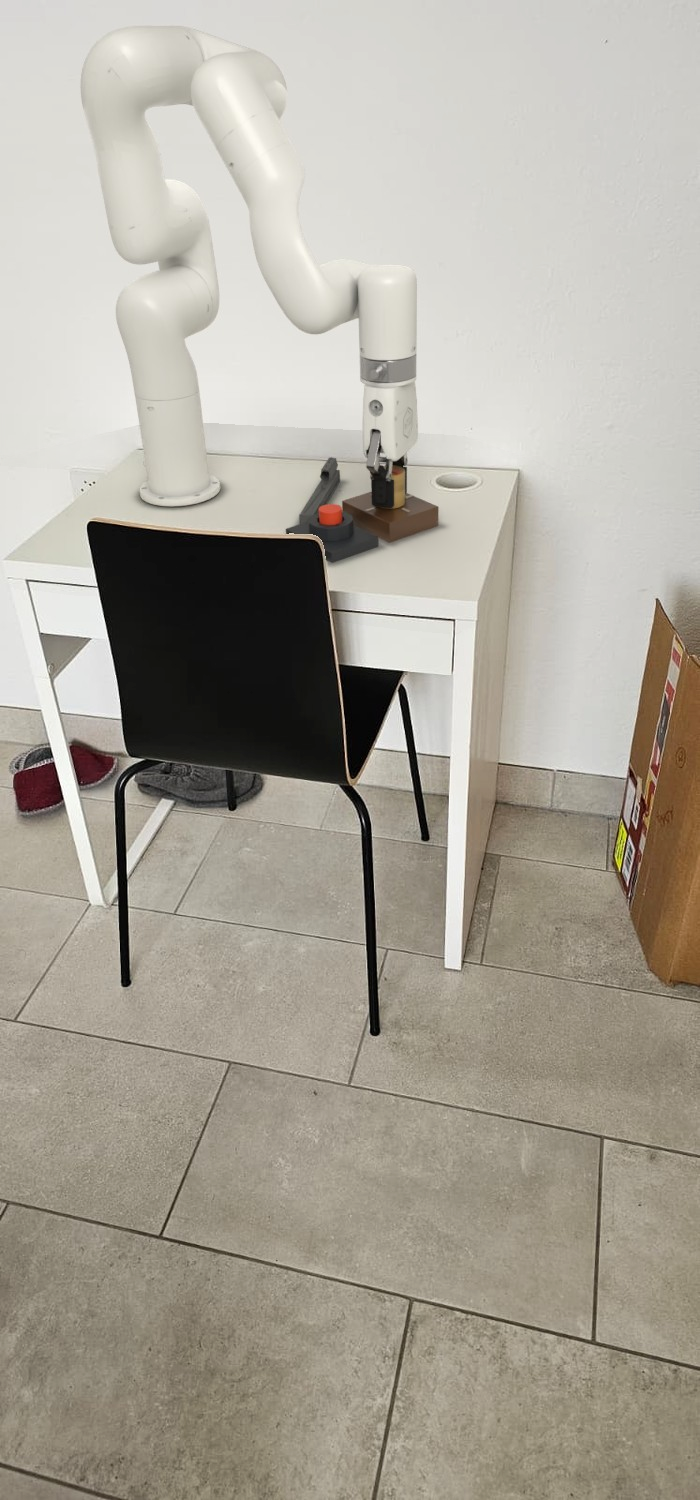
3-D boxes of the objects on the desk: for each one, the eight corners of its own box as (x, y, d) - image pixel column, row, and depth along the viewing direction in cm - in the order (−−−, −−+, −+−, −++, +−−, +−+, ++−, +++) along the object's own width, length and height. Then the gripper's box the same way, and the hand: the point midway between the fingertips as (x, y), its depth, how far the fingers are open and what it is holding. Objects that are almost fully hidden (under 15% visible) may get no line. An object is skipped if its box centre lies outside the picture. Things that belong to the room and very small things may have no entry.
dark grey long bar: (317, 530, 147) (315, 502, 144) (299, 529, 147) (297, 501, 145) (344, 482, 161) (342, 456, 159) (327, 482, 162) (326, 456, 159)
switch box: (286, 538, 144) (284, 515, 142) (331, 523, 148) (330, 500, 146) (332, 563, 137) (330, 539, 135) (378, 547, 141) (378, 523, 139)
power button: (314, 521, 141) (314, 508, 140) (333, 515, 142) (332, 502, 141) (328, 528, 139) (327, 514, 138) (347, 522, 140) (346, 508, 139)
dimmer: (342, 520, 149) (341, 499, 147) (390, 504, 153) (389, 484, 151) (389, 543, 142) (389, 521, 140) (438, 526, 146) (438, 505, 144)
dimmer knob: (368, 502, 146) (367, 468, 143) (391, 495, 148) (391, 460, 145) (387, 511, 143) (387, 476, 140) (411, 503, 145) (411, 468, 142)
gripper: (392, 387, 127) (393, 525, 138) (435, 354, 140) (433, 482, 150) (337, 383, 130) (342, 518, 140) (384, 350, 142) (385, 477, 153)
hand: (389, 498), depth 145 cm, fingers closed on dimmer knob, 4 cm apart
